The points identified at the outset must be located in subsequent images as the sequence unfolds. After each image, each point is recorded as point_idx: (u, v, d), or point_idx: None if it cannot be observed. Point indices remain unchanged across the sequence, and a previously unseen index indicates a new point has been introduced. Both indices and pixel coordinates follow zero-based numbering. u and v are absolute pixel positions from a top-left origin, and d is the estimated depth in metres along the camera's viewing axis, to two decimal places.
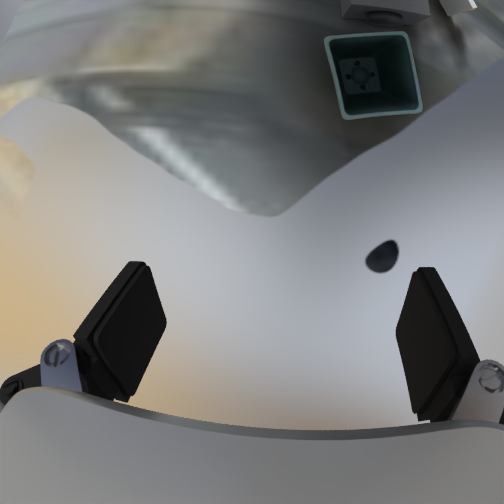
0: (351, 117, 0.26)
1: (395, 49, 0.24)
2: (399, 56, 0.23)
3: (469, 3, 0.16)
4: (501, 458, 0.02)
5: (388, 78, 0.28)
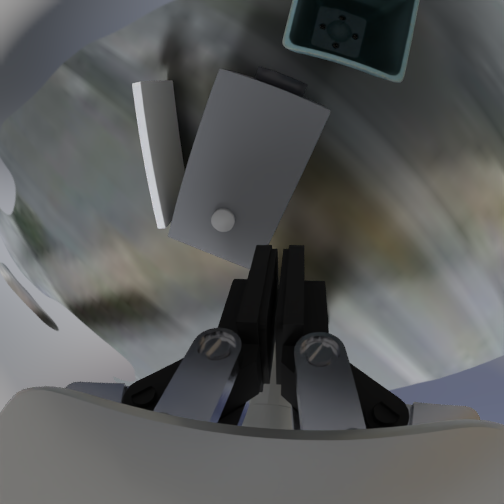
0: None
1: (294, 36, 0.19)
2: (296, 25, 0.17)
3: (142, 89, 0.21)
4: (501, 458, 0.02)
5: (309, 12, 0.20)
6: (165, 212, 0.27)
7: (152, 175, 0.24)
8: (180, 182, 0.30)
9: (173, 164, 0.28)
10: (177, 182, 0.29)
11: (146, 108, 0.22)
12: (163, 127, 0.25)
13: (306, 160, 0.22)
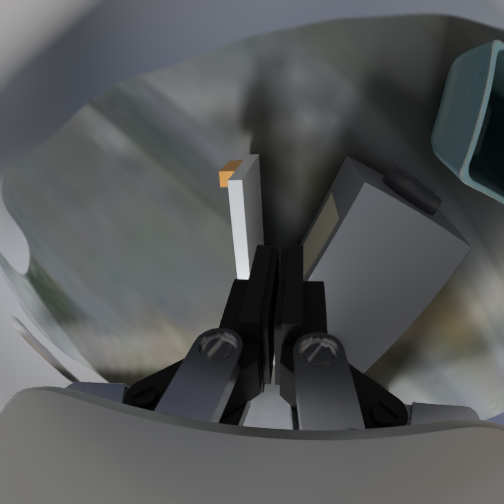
0: None
1: None
2: None
3: (243, 190, 0.16)
4: (501, 458, 0.02)
5: None
6: None
7: None
8: None
9: None
10: None
11: (246, 218, 0.18)
12: (255, 230, 0.21)
13: (433, 296, 0.18)
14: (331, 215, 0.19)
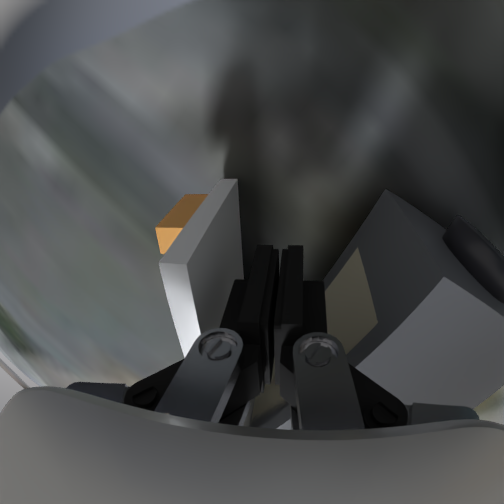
0: None
1: None
2: None
3: (192, 281, 0.08)
4: (501, 458, 0.02)
5: None
6: None
7: None
8: None
9: None
10: None
11: (204, 320, 0.09)
12: None
13: (478, 403, 0.10)
14: (359, 300, 0.11)
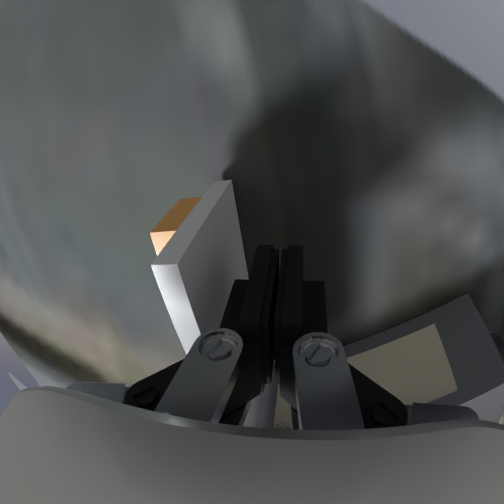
0: None
1: None
2: None
3: (185, 281, 0.08)
4: (501, 458, 0.02)
5: None
6: None
7: None
8: None
9: None
10: None
11: (203, 320, 0.09)
12: None
13: None
14: (438, 367, 0.13)
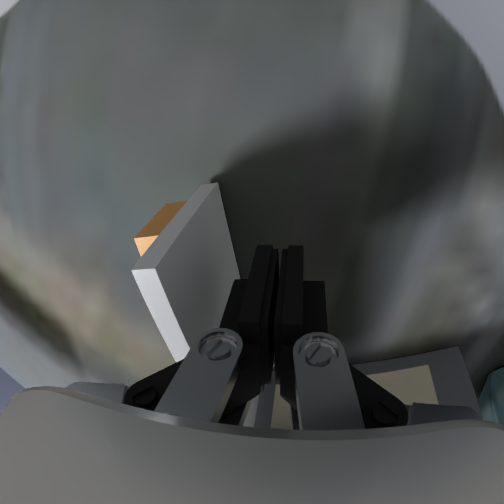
0: None
1: None
2: None
3: (165, 285, 0.08)
4: (501, 458, 0.02)
5: None
6: None
7: None
8: None
9: None
10: None
11: (187, 322, 0.09)
12: (222, 313, 0.13)
13: None
14: (428, 402, 0.15)
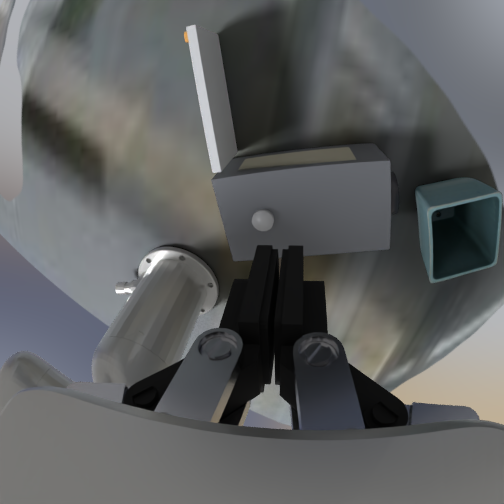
0: (496, 258, 0.23)
1: None
2: None
3: (197, 31, 0.19)
4: (501, 458, 0.02)
5: None
6: (220, 155, 0.26)
7: (208, 115, 0.23)
8: (230, 131, 0.29)
9: (224, 112, 0.27)
10: (228, 130, 0.28)
11: (201, 50, 0.20)
12: (214, 73, 0.24)
13: (346, 251, 0.28)
14: (346, 154, 0.26)
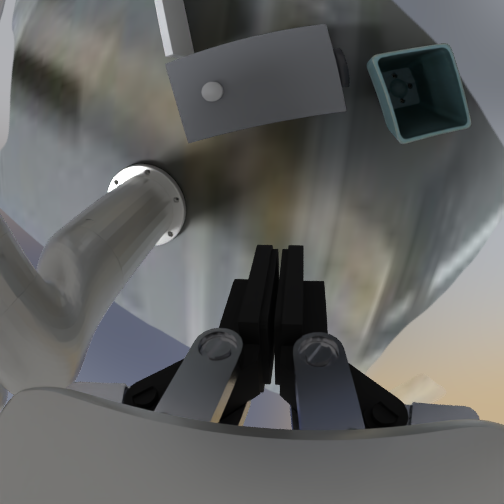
0: (468, 118, 0.21)
1: (379, 60, 0.23)
2: (388, 58, 0.22)
3: None
4: (501, 458, 0.02)
5: (399, 62, 0.25)
6: (173, 43, 0.24)
7: (162, 11, 0.21)
8: (186, 37, 0.27)
9: (180, 20, 0.25)
10: (184, 34, 0.26)
11: None
12: None
13: (300, 116, 0.26)
14: None
